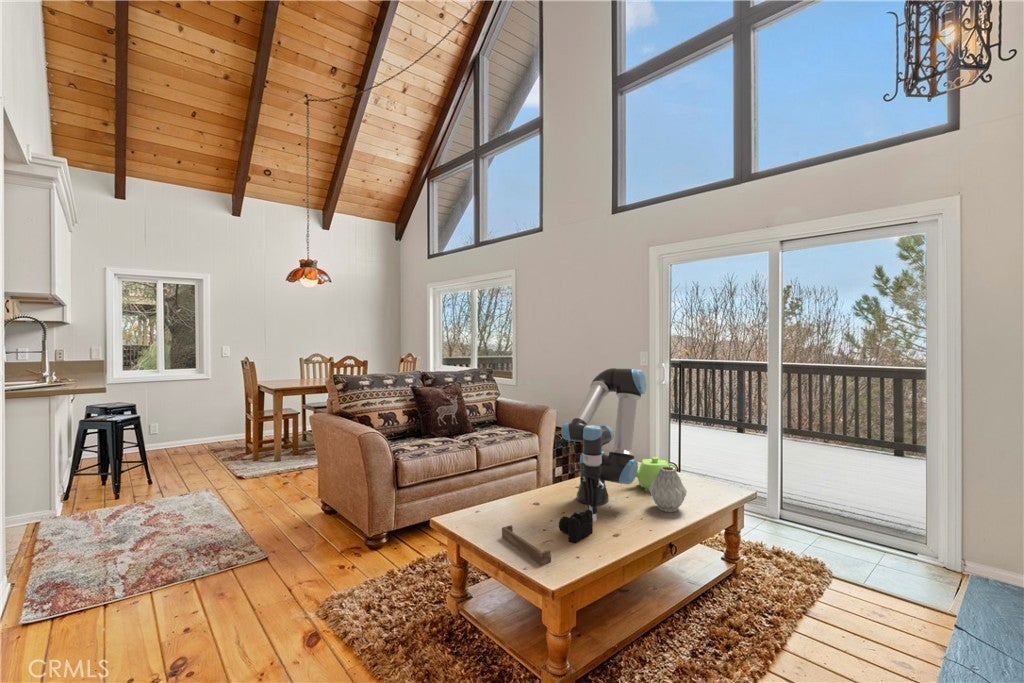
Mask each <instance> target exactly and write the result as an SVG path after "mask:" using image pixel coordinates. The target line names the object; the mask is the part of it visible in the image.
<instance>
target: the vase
mask: <svg viewBox="0 0 1024 683" xmlns="http://www.w3.org/2000/svg"><path fill="white" fill-rule="evenodd" d="M649 490H650V491H649V492H650V495H651V497H652V499H653V502H654V504H655V505H656V506H657V508H658V510H660V511H663V512H666V513H667V512H669V513H673V512H674V513H675V512H678V510H679V508H680V506H682V504H683V503H684V500H685V498H686V496H687V491H688V490H687V489H686V487H685V486H684V484H683V483H682V479H681V477H680V476H679V474H678V472H676V471H675V468H674V467H672V466H669V467H661V468H660V470H659V472H658V473H657V474H656V476H655V479H654V481H653V482H652V484H651V486H650V487H649Z"/></svg>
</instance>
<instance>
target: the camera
mask: <svg viewBox="0 0 1024 683" xmlns="http://www.w3.org/2000/svg"><path fill="white" fill-rule="evenodd" d="M592 515H593V513H592V511H591V510H588V509H586V510H585V511H581V512H578V513H577V512H576V511H575V512H573V514H571V516H568V515H567V516H566V515H563V516H561V517H560V519H559V520H558V530H559V531H560V532H562V533H563V534H567V535H568V538H567V539H568V542H569V543H570V544H577V543H579V542H581V541H583V540H585V539H586V538H588V537H589V536H591V535H592V534H593V533H594V524H593V522H594V521H593V518H592Z"/></svg>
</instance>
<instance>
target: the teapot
mask: <svg viewBox="0 0 1024 683" xmlns="http://www.w3.org/2000/svg"><path fill="white" fill-rule="evenodd" d="M661 467H672V468H674V469H675V471H676V472H677V470H678V468H677V466H676V464H674V463H668V461H667V460H664V459H659V457H657V456H652V457H651V458H644V459H642V461H641V463H640V466H639V467H638V470H637V474H636V477H635V478H637V481H638V483H639V484H640V486H641V487H642V488H644V491H645V492H650V490H649V487H650V486H651V484H652V482H653V481H654V479H655V476H656V474H657V473H658V472H659V470H660V468H661ZM677 473H678V472H677Z"/></svg>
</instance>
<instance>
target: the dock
mask: <svg viewBox="0 0 1024 683" xmlns="http://www.w3.org/2000/svg"><path fill="white" fill-rule="evenodd" d="M513 530H514V529H513V525H511V524H510V525H507V526H503V527H501V538H502V539H503V540H505V541H506V542H508V543H509V544H510V545H512V547H513V546H514V547H515V548H516V549H518V550H519V551H520V552H522V553H523V554H524V555H526V556H527V557H529V558H530V559H532V560H533V561H535V562H536V563H537V564H538V565H540V566H544V565H545V564H546V565H547V564H549V563H551V562H552V553H551V552H552V550H550V549H546V550H540V549H538V548H537V547H536V546H534V545H533V544H532V543H530V542H528V541H526V540H525V539H524V538H522V537H521V536H520V535H518V534H516V533H514V532H513Z"/></svg>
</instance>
